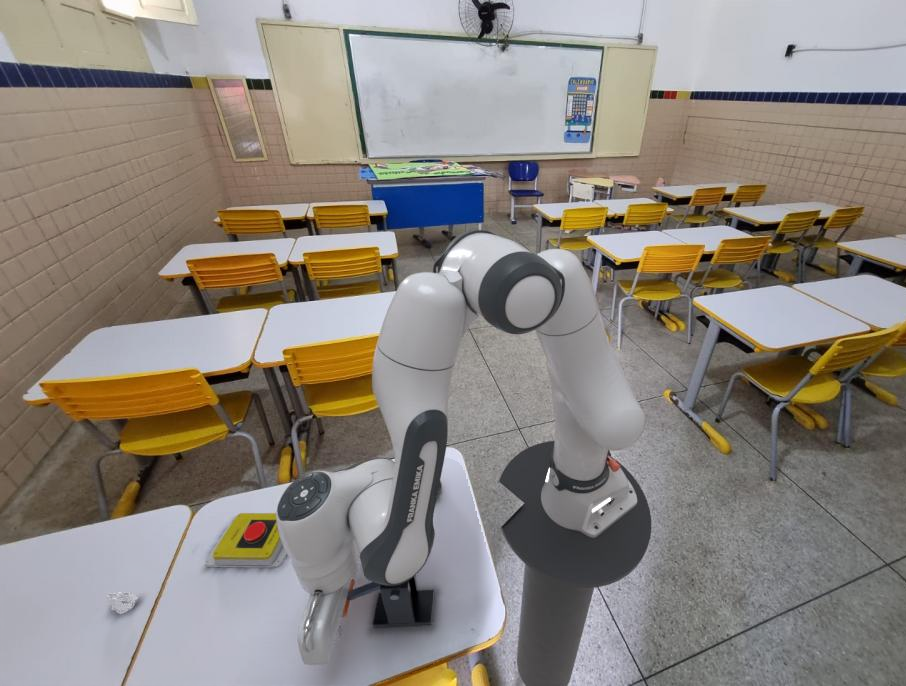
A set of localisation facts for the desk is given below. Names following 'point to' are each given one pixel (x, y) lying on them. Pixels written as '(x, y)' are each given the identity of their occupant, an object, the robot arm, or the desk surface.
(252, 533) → the emergency button
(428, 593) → the switch bracket
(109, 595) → the white crumpled lump
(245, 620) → the desk surface
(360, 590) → the switch lever
